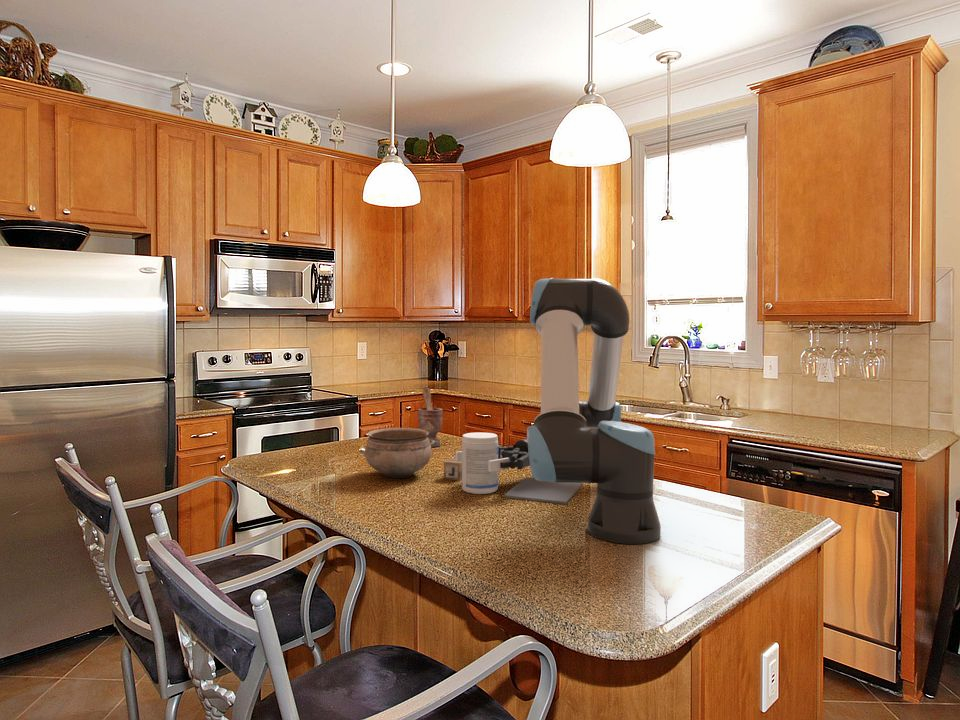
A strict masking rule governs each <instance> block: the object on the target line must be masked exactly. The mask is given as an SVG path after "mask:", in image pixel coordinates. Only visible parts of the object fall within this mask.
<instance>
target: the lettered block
mask: <svg viewBox="0 0 960 720" xmlns="http://www.w3.org/2000/svg"><path fill="white" fill-rule="evenodd" d="M455 460H456V457H455V458H454V457H450V458H448V459H446V460H444V461H443V479H444V480H450V481H452V480H453V481H461V482H462V462H455Z"/></svg>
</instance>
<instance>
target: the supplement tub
mask: <svg viewBox="0 0 960 720" xmlns="http://www.w3.org/2000/svg"><path fill="white" fill-rule="evenodd" d="M498 446H499V439H498V435H497V434H496V433H492V432H480V431H479V432H467V433H464V434H462V439H461V451H462V480H461V488H462V490H463V491H464V492H465V493H469V494H473V495H487V494H488V495H489V494H492V493H494V492H495V493H496V492H497V491H498V489H499V470H498V471H493V472H489V471H488V461H491V460H496V459H498Z"/></svg>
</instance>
